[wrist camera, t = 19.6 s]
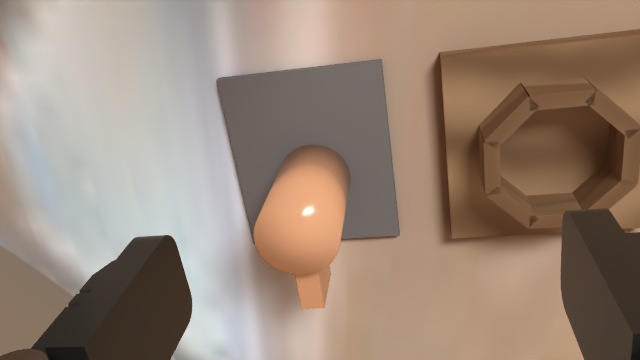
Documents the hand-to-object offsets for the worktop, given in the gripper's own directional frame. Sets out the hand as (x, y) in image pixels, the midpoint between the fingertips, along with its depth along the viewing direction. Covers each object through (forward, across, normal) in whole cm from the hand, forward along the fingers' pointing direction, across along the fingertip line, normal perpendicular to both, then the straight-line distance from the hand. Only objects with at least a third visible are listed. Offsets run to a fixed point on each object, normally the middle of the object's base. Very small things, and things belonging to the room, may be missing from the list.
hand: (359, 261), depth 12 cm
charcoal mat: (+30, +7, +10) cm, 32 cm away
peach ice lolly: (+30, +7, +13) cm, 33 cm away
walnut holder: (+30, -10, +10) cm, 33 cm away
